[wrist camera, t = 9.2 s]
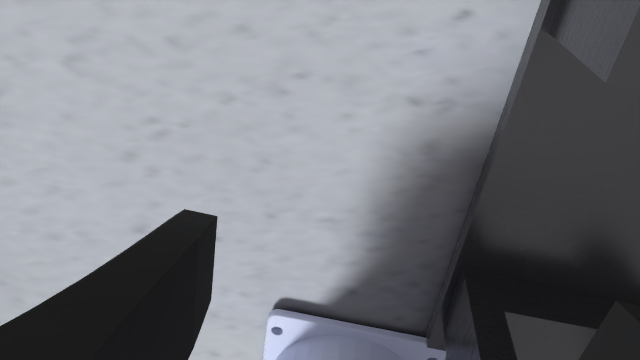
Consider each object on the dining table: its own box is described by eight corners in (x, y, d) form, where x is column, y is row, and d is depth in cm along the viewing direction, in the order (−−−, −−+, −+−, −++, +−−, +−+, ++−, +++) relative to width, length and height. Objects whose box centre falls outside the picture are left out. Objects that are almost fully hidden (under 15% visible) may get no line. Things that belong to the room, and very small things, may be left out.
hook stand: (607, 368, 22) (664, 493, 17) (425, 333, 22) (434, 446, 18) (905, -99, 13) (1190, -96, 8) (592, -147, 13) (699, -171, 9)
